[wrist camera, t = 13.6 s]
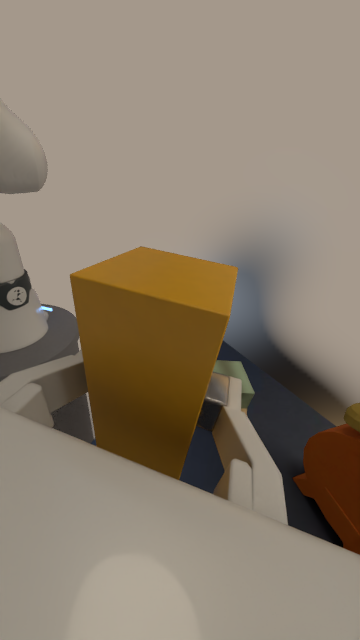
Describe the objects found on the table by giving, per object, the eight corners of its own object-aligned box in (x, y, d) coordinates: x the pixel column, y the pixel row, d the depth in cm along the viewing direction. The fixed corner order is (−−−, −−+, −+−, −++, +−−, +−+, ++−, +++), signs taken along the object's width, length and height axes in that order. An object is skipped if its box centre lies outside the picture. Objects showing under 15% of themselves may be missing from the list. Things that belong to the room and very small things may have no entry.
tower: (188, 416, 36) (196, 386, 31) (198, 379, 43) (206, 351, 39) (239, 435, 34) (255, 406, 30) (241, 393, 42) (254, 365, 37)
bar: (100, 472, 11) (68, 273, 5) (135, 409, 14) (140, 245, 8) (171, 503, 10) (230, 316, 4) (190, 429, 13) (238, 267, 8)
